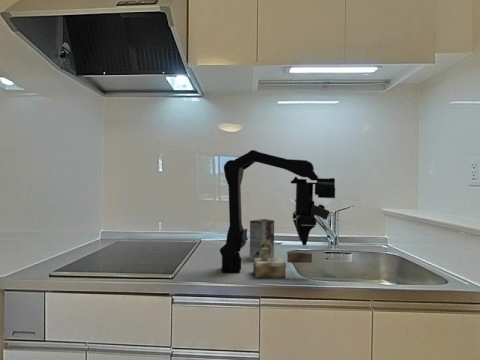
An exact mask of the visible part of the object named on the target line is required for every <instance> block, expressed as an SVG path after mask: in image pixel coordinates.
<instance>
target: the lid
mask: <svg viewBox="0 0 480 360" xmlns="http://www.w3.org/2000/svg"><path fill="white" fill-rule="evenodd" d="M253 261H254V263H255V265H256V266H286V267H287V264H286V262H285V260H284V259H283V258H282V257H274V258H268V248H261V258H254V260H253Z"/></svg>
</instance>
